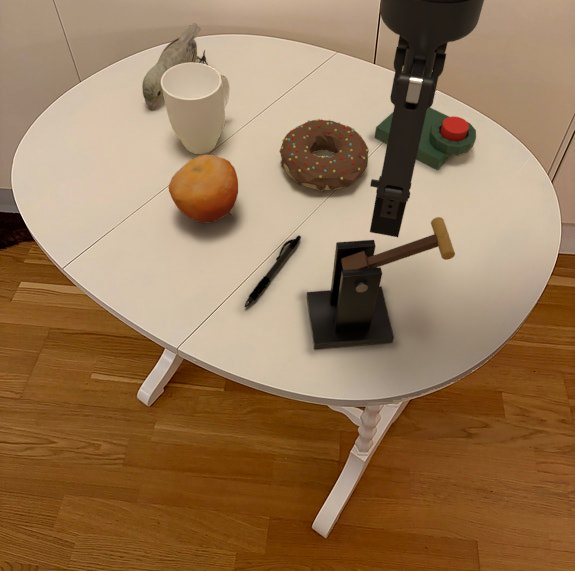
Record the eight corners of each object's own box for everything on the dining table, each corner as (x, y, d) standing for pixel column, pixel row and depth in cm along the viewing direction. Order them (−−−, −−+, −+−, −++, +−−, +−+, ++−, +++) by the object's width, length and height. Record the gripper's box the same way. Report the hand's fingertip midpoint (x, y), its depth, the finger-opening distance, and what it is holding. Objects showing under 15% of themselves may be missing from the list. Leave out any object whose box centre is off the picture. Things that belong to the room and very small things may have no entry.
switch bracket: (380, 291, 80) (395, 228, 70) (392, 342, 75) (410, 283, 65) (306, 297, 79) (310, 233, 69) (314, 349, 75) (319, 290, 64)
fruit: (194, 250, 85) (170, 203, 77) (179, 208, 90) (156, 161, 83) (257, 225, 85) (239, 176, 78) (238, 185, 91) (221, 135, 83)
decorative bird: (136, 105, 102) (127, 67, 96) (187, 57, 111) (182, 19, 105) (163, 115, 101) (155, 77, 95) (212, 65, 109) (209, 27, 103)
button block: (481, 144, 98) (488, 124, 94) (450, 177, 93) (457, 157, 90) (407, 108, 103) (411, 88, 100) (374, 137, 98) (377, 118, 95)
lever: (445, 225, 68) (441, 212, 66) (457, 259, 65) (452, 247, 63) (346, 260, 71) (339, 249, 69) (352, 294, 68) (345, 283, 66)
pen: (292, 236, 85) (293, 230, 84) (303, 240, 85) (303, 235, 84) (238, 305, 78) (238, 300, 77) (249, 311, 78) (248, 306, 77)
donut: (264, 154, 96) (264, 129, 91) (337, 128, 99) (340, 103, 95) (308, 212, 88) (310, 188, 84) (385, 182, 92) (390, 157, 88)
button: (470, 132, 94) (473, 123, 92) (458, 145, 92) (460, 136, 90) (448, 121, 95) (451, 112, 94) (435, 134, 93) (437, 125, 92)
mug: (203, 170, 93) (194, 106, 84) (161, 147, 96) (148, 83, 86) (249, 130, 99) (245, 66, 89) (208, 110, 102) (200, 46, 92)
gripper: (406, -108, 51) (375, 101, 68) (358, 58, 36) (334, 270, 54) (496, -98, 50) (441, 111, 67) (483, 76, 35) (417, 286, 53)
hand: (393, 182), depth 60 cm, fingers open, 13 cm apart
